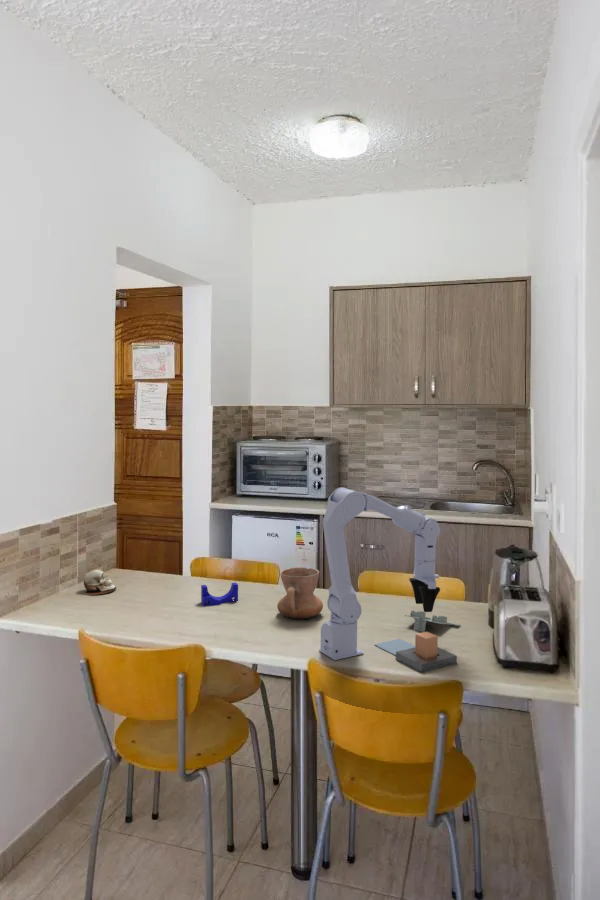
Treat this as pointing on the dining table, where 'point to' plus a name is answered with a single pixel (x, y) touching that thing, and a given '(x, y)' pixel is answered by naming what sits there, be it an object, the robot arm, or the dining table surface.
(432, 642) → the square peg
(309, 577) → the ceramic jug
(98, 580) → the skull
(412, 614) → the metal bracket
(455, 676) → the dining table surface
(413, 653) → the socket plate
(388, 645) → the rubber mat
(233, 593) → the blue curved cradle
